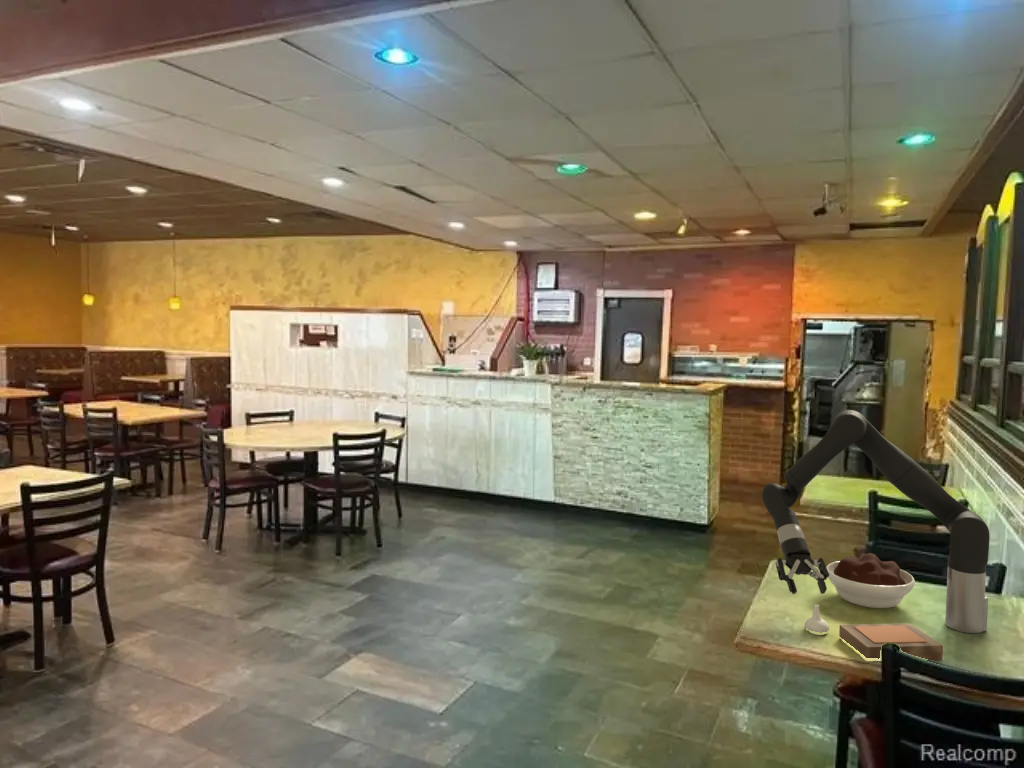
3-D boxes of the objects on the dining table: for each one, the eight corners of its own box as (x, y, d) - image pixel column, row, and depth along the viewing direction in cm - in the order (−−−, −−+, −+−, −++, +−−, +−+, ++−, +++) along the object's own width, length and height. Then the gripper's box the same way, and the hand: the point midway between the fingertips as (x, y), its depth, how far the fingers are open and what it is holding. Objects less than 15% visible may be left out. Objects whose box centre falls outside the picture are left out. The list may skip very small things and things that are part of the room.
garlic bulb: (826, 630, 200) (826, 602, 200) (830, 637, 194) (830, 608, 194) (802, 628, 202) (803, 600, 202) (806, 635, 196) (806, 606, 196)
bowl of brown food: (927, 620, 206) (929, 570, 205) (838, 615, 210) (839, 566, 209) (895, 590, 230) (897, 545, 229) (815, 586, 234) (817, 542, 233)
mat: (903, 626, 192) (903, 625, 192) (926, 642, 182) (926, 641, 182) (854, 627, 191) (854, 626, 191) (874, 643, 181) (874, 642, 181)
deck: (909, 637, 194) (909, 623, 194) (942, 660, 180) (943, 645, 180) (839, 638, 193) (839, 624, 193) (867, 662, 179) (867, 647, 179)
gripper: (773, 536, 210) (789, 587, 199) (820, 536, 210) (838, 586, 200) (766, 548, 215) (781, 598, 205) (811, 548, 216) (828, 598, 205)
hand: (809, 592), depth 202 cm, fingers open, 8 cm apart
